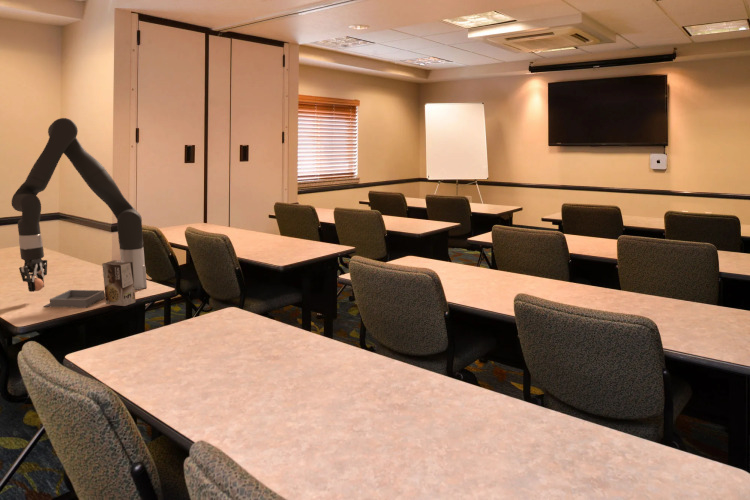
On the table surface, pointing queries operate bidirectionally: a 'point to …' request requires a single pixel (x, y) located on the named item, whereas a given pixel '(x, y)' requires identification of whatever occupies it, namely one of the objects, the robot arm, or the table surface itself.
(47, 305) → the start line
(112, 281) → the coffee box
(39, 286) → the ball
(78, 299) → the bin
